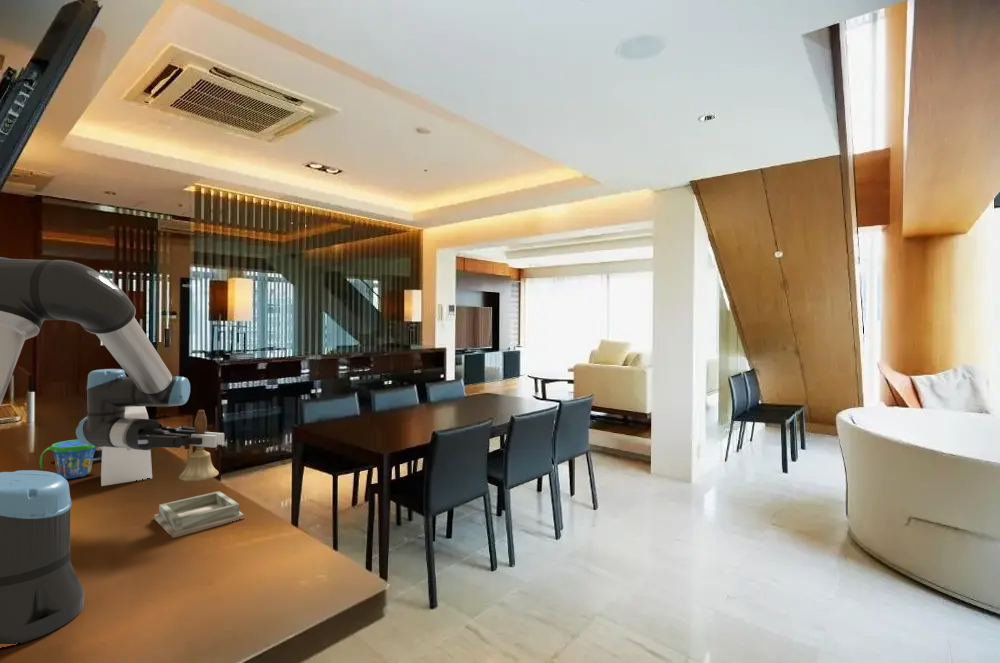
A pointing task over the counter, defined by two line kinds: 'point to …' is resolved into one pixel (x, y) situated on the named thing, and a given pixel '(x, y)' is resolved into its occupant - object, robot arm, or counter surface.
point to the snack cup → (71, 458)
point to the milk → (126, 458)
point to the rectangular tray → (197, 513)
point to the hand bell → (199, 456)
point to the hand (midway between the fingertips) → (219, 440)
